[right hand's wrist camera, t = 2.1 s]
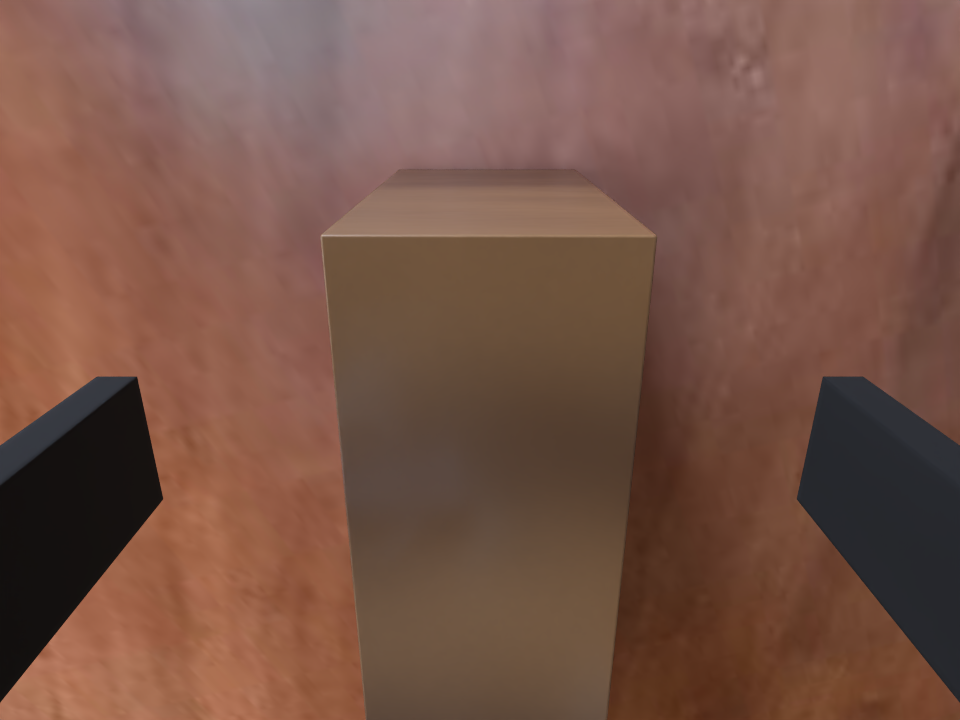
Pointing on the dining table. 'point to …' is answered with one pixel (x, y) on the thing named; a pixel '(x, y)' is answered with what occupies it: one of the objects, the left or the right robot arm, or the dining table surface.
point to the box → (487, 436)
